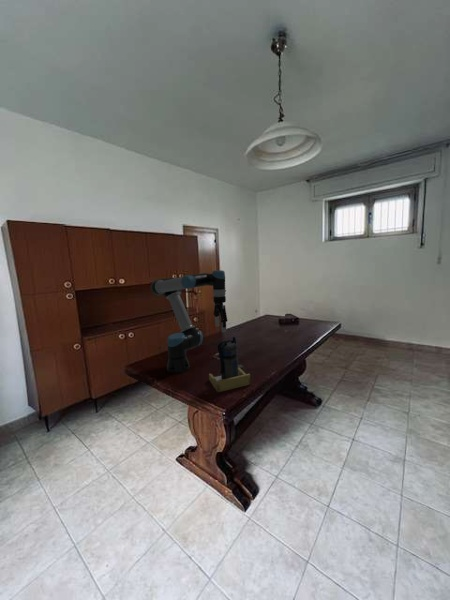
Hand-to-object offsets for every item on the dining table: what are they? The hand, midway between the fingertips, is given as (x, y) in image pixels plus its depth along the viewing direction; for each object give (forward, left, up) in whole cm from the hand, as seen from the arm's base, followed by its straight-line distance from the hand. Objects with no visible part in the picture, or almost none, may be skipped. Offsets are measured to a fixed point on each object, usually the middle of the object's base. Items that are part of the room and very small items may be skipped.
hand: (220, 329), depth 156 cm
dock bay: (-1, -14, -28) cm, 32 cm away
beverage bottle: (-1, -14, -27) cm, 31 cm away
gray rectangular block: (+10, -3, -29) cm, 30 cm away
